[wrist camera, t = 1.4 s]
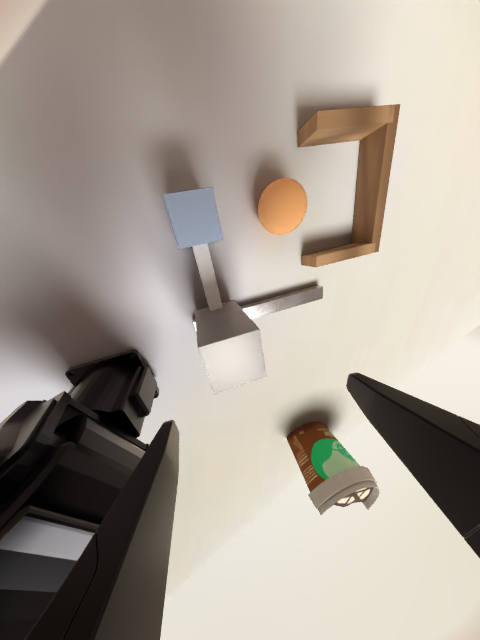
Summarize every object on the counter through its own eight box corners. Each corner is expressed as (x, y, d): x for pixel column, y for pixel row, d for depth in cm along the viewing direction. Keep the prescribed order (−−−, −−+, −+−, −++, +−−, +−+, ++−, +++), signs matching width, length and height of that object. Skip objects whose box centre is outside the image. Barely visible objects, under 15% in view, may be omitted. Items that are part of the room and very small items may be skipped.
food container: (343, 422, 34) (397, 483, 25) (324, 444, 36) (370, 509, 27) (300, 411, 29) (348, 483, 20) (280, 437, 31) (318, 515, 22)
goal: (301, 265, 19) (316, 267, 17) (297, 131, 15) (317, 110, 12) (357, 251, 20) (378, 251, 18) (370, 124, 16) (400, 104, 14)
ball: (255, 239, 17) (272, 237, 13) (248, 190, 15) (266, 172, 12) (291, 231, 18) (317, 227, 14) (289, 184, 16) (318, 165, 12)
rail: (196, 330, 19) (197, 334, 18) (193, 319, 18) (193, 322, 17) (317, 296, 21) (322, 298, 20) (317, 285, 21) (322, 286, 20)
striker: (204, 340, 19) (214, 394, 12) (163, 210, 14) (136, 170, 7) (238, 330, 20) (266, 376, 13) (211, 202, 15) (233, 159, 7)
